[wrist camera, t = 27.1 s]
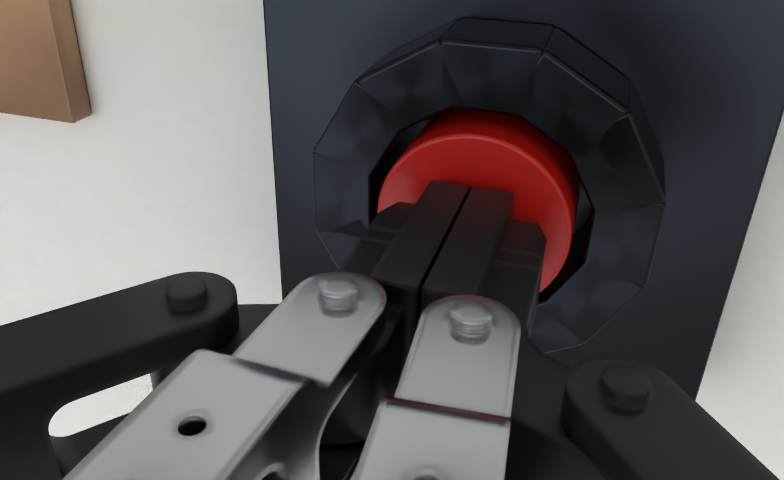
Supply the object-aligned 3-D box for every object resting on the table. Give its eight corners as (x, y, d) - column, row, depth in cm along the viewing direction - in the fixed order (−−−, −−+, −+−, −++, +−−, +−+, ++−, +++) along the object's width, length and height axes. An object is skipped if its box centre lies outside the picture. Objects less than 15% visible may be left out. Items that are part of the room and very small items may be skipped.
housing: (309, -158, 15) (200, -157, 12) (823, -143, 13) (896, -136, 9) (323, 303, 21) (254, 403, 18) (677, 374, 19) (685, 508, 15)
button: (405, 92, 14) (377, 122, 13) (593, 115, 13) (586, 149, 12) (399, 251, 16) (375, 292, 14) (565, 280, 15) (556, 328, 13)
